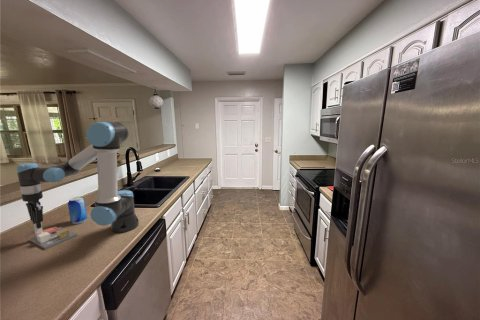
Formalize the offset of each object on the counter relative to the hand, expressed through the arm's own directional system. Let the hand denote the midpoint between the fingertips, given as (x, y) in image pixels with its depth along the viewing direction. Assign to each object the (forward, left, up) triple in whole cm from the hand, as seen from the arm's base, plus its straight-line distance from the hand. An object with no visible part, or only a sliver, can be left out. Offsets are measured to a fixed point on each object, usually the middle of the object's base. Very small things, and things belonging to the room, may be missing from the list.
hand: (39, 232), depth 109 cm
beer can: (+4, -21, -4) cm, 22 cm away
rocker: (0, -4, -1) cm, 4 cm away
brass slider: (-11, -6, -3) cm, 13 cm away
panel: (-5, -4, -4) cm, 7 cm away
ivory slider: (-6, 0, -3) cm, 6 cm away
